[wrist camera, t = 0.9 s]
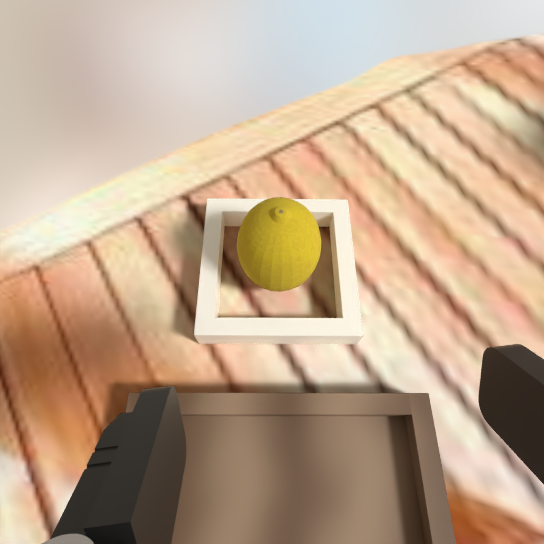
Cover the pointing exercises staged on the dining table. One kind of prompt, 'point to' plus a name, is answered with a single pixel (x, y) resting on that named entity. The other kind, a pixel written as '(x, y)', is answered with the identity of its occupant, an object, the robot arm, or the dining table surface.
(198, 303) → the holder frame
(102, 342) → the dining table surface
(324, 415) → the walnut tray
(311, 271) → the lemon
